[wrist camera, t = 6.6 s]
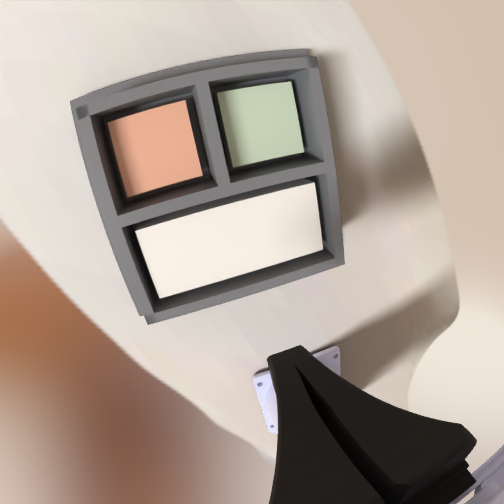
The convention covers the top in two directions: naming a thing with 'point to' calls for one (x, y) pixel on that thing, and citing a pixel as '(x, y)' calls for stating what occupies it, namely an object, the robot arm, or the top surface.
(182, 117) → the terracotta key
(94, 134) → the grey compartment tray
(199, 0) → the top surface
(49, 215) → the top surface
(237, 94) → the green key
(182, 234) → the space bar
